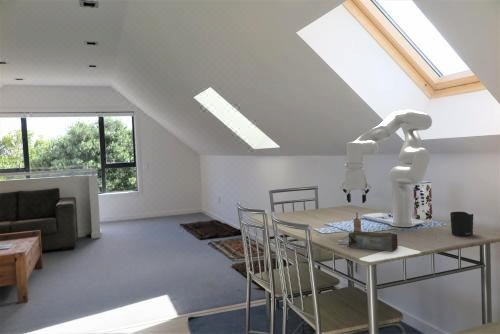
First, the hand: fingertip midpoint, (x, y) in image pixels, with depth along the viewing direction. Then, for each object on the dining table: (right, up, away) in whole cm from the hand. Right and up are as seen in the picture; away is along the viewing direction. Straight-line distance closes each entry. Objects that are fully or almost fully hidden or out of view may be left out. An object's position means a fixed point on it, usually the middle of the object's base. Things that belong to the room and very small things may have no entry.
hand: (356, 202), depth 189 cm
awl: (+1, -16, +1) cm, 16 cm away
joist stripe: (-7, -17, -13) cm, 22 cm away
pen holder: (+46, -14, -11) cm, 50 cm away
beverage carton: (0, -17, -26) cm, 31 cm away
